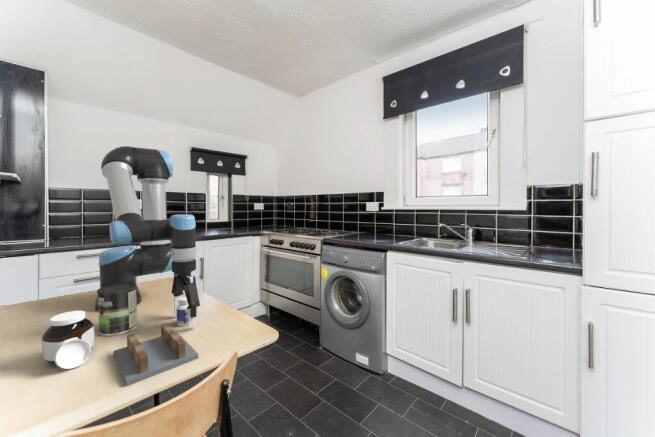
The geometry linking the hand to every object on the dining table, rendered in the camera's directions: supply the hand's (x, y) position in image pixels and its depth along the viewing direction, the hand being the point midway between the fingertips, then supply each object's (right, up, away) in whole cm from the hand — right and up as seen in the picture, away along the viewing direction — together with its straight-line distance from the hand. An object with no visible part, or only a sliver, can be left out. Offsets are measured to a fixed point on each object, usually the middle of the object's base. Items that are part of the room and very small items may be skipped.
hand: (185, 319), depth 96 cm
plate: (+2, -3, -20) cm, 21 cm away
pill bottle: (0, -1, 0) cm, 2 cm away
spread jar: (-19, -3, -22) cm, 29 cm away
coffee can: (-20, -2, -4) cm, 20 cm away
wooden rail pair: (+2, -1, -20) cm, 21 cm away
